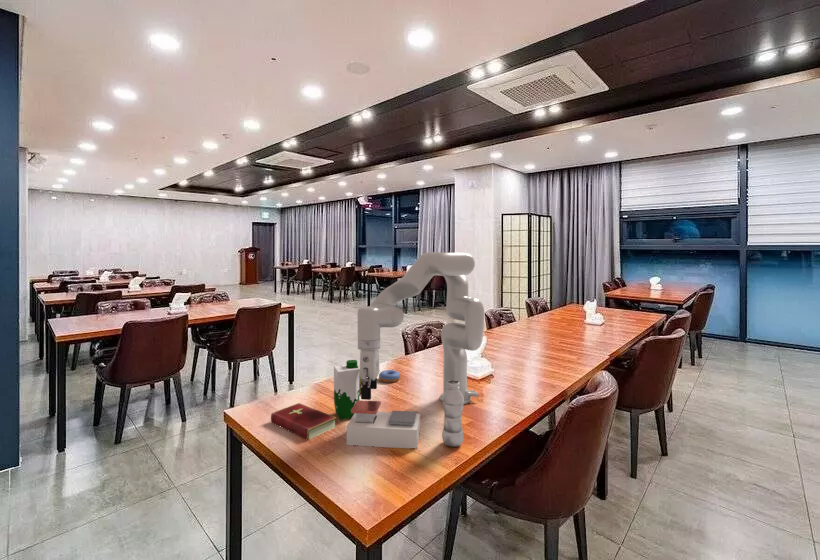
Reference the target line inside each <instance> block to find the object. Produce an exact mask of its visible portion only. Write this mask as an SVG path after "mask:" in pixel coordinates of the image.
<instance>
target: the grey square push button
mask: <svg viewBox="0 0 820 560" xmlns="http://www.w3.org/2000/svg"><path fill="white" fill-rule="evenodd" d="M417 413H418V412H417V411H414V410H413V411H412V410H410V411H409V410H392V414H391V416H390V419H389V424H395V425H414V424H415V419H416V415H417Z"/></svg>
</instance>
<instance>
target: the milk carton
mask: <svg viewBox="0 0 820 560" xmlns="http://www.w3.org/2000/svg"><path fill="white" fill-rule="evenodd" d="M345 362H346V364H339V365H334V366H333V405H334V409H335V411H334V412H335V414H336V416H337V417H338V418H337V419H339V421H343V420H347V419H348V420H349V419H351V418H352V417H353V415H354V413H351V409H352V408H353V406H354V405H355V403H356V402H357V400H360V394H359V371H360V367H359V365H358V360H357V359H348V360H346V361H345Z"/></svg>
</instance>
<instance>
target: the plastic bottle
mask: <svg viewBox="0 0 820 560" xmlns="http://www.w3.org/2000/svg"><path fill="white" fill-rule="evenodd" d="M447 388H448V390H447V391H446V392H445V394H444V396H443V402H442V403H443V412H444V413H443V414H444V420H443V421H444V422H443V429H442V432H441V433H442V435H441V437H442V441H443V444H444V445H446V446H447V447H451V448H454V447H459V446H461V445H462V444H463V442H464V438H465V437H464V436H465V435H464V431H463V420H462V419H463V410H464V405H465V404H464V397H463V395H462V393H461V392H460V390H459V388H460V386H459V381H456V380H449V381H448V382H447Z"/></svg>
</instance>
